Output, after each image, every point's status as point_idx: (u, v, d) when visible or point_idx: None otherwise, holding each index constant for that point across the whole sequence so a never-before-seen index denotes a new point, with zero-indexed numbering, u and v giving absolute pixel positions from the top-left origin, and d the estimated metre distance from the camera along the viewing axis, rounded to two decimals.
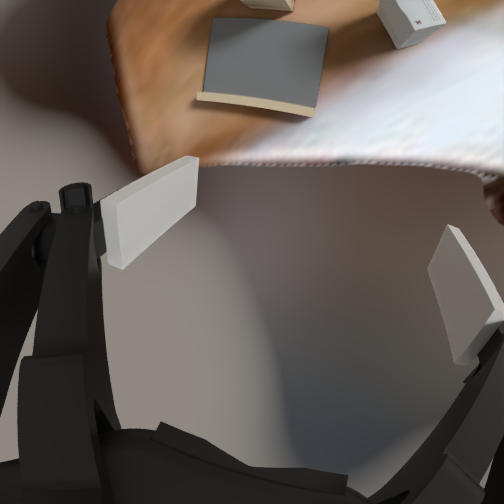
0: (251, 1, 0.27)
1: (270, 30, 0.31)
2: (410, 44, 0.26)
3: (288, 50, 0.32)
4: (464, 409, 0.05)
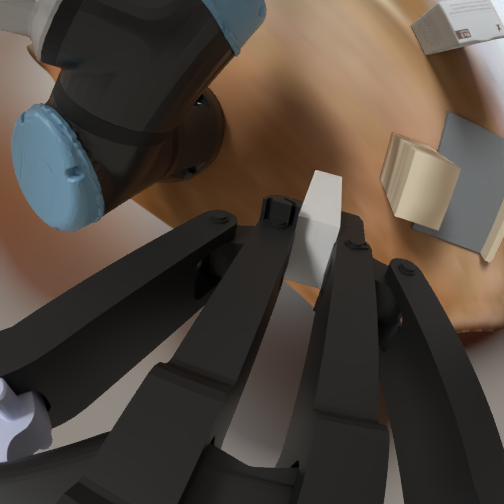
0: None
1: None
2: None
3: (468, 159, 0.28)
4: (319, 348, 0.06)
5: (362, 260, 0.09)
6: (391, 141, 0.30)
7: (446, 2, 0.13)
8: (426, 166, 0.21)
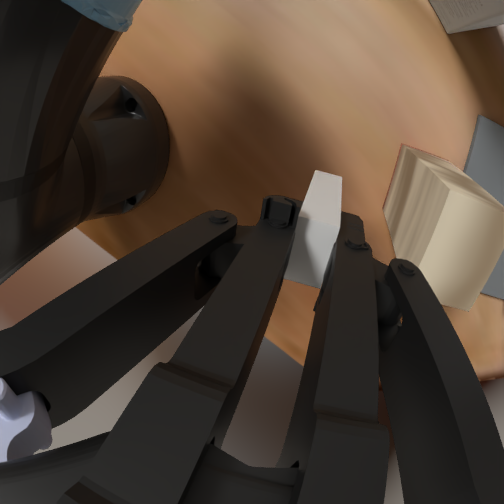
0: None
1: None
2: None
3: (503, 183, 0.19)
4: (319, 348, 0.06)
5: (362, 260, 0.09)
6: (401, 157, 0.21)
7: None
8: (466, 216, 0.11)
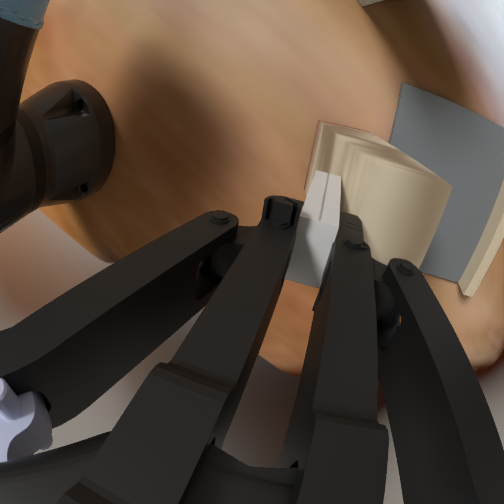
0: None
1: None
2: None
3: (438, 153, 0.20)
4: (317, 348, 0.06)
5: (361, 260, 0.09)
6: (318, 135, 0.21)
7: None
8: (395, 189, 0.12)
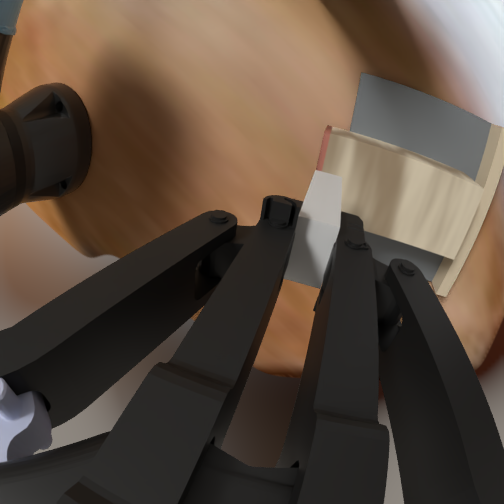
0: None
1: None
2: None
3: (402, 143, 0.20)
4: (318, 348, 0.06)
5: (362, 260, 0.09)
6: (339, 151, 0.18)
7: None
8: None
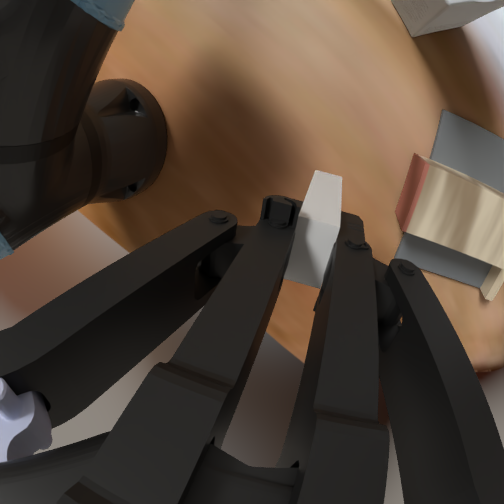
0: None
1: None
2: None
3: (469, 172, 0.22)
4: (318, 348, 0.06)
5: (362, 260, 0.09)
6: (434, 180, 0.20)
7: None
8: None
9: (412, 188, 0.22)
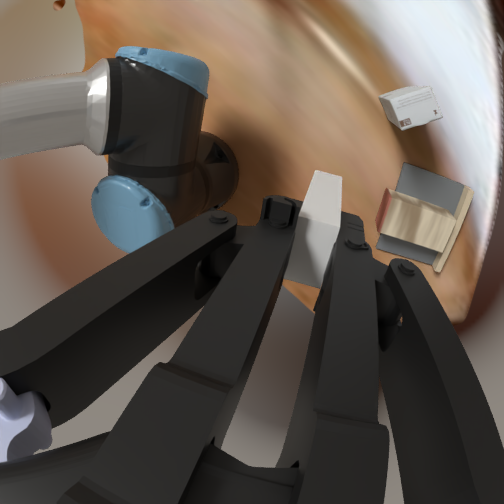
0: None
1: None
2: None
3: (419, 197, 0.43)
4: (319, 348, 0.06)
5: (362, 260, 0.09)
6: (394, 205, 0.41)
7: (395, 99, 0.28)
8: None
9: (383, 209, 0.43)
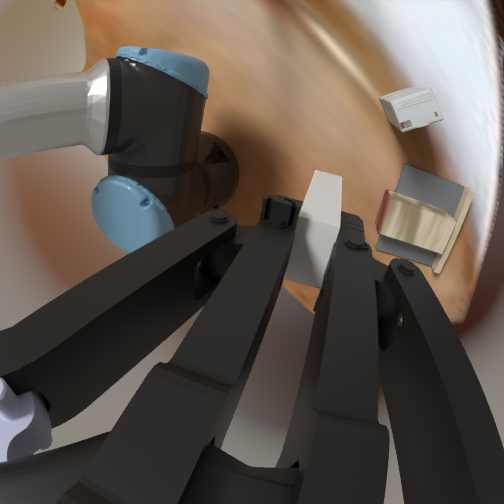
0: None
1: None
2: None
3: (419, 198, 0.43)
4: (318, 348, 0.06)
5: (362, 260, 0.09)
6: (394, 206, 0.41)
7: (396, 100, 0.28)
8: None
9: (383, 210, 0.43)
